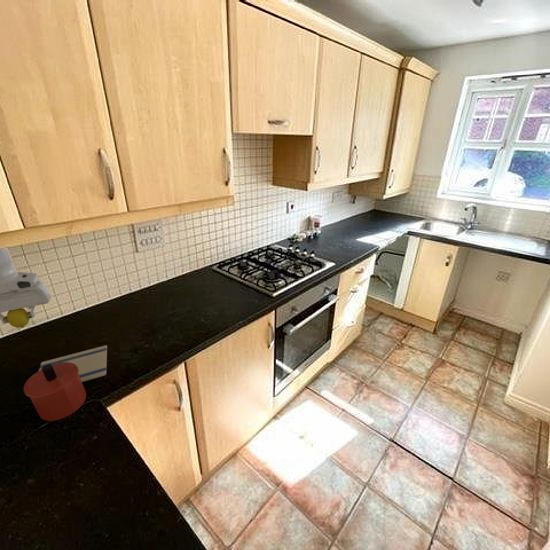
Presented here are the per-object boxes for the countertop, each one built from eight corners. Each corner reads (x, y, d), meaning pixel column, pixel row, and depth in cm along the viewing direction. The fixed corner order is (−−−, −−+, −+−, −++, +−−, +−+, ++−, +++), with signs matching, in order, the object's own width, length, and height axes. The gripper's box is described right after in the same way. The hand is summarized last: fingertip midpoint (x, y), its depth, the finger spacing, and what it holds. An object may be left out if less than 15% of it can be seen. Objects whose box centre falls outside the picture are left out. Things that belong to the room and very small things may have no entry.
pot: (35, 427, 81) (21, 402, 77) (43, 396, 90) (31, 372, 86) (84, 411, 85) (74, 386, 81) (87, 383, 95) (78, 359, 90)
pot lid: (19, 406, 76) (11, 392, 74) (30, 373, 86) (23, 360, 84) (76, 389, 81) (70, 375, 79) (81, 359, 91) (75, 346, 89)
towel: (31, 397, 90) (30, 396, 90) (42, 363, 103) (41, 362, 103) (106, 375, 98) (105, 373, 97) (107, 346, 110) (106, 345, 110)
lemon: (12, 334, 98) (3, 313, 95) (12, 326, 102) (2, 306, 98) (33, 328, 101) (24, 307, 98) (32, 320, 105) (23, 301, 102)
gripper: (-45, 294, 88) (-25, 333, 94) (39, 280, 96) (53, 317, 102) (-37, 285, 93) (-17, 322, 99) (43, 272, 101) (56, 308, 107)
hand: (19, 319), depth 100 cm, fingers closed on lemon, 5 cm apart
